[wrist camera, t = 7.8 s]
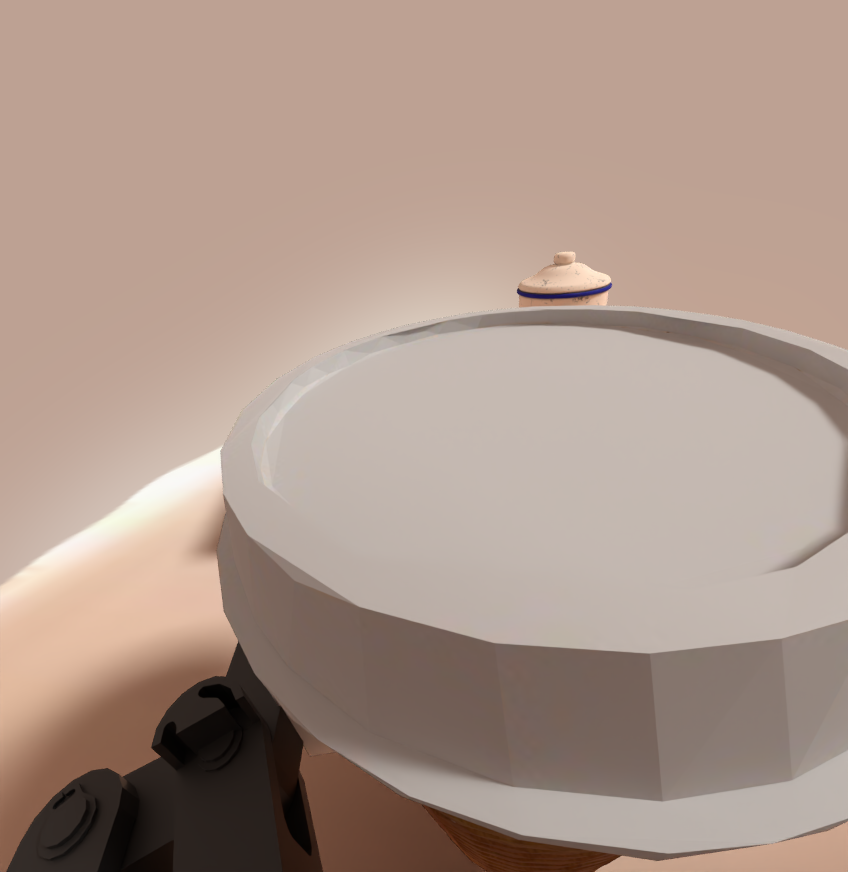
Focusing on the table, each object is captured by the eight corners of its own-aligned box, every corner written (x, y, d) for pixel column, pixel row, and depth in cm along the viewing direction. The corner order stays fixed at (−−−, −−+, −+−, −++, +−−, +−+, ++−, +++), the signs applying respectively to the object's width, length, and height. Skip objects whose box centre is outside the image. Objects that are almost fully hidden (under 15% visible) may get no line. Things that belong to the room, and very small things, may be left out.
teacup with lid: (514, 355, 47) (514, 253, 42) (591, 350, 46) (602, 243, 40) (520, 394, 37) (522, 267, 32) (619, 390, 36) (640, 255, 30)
